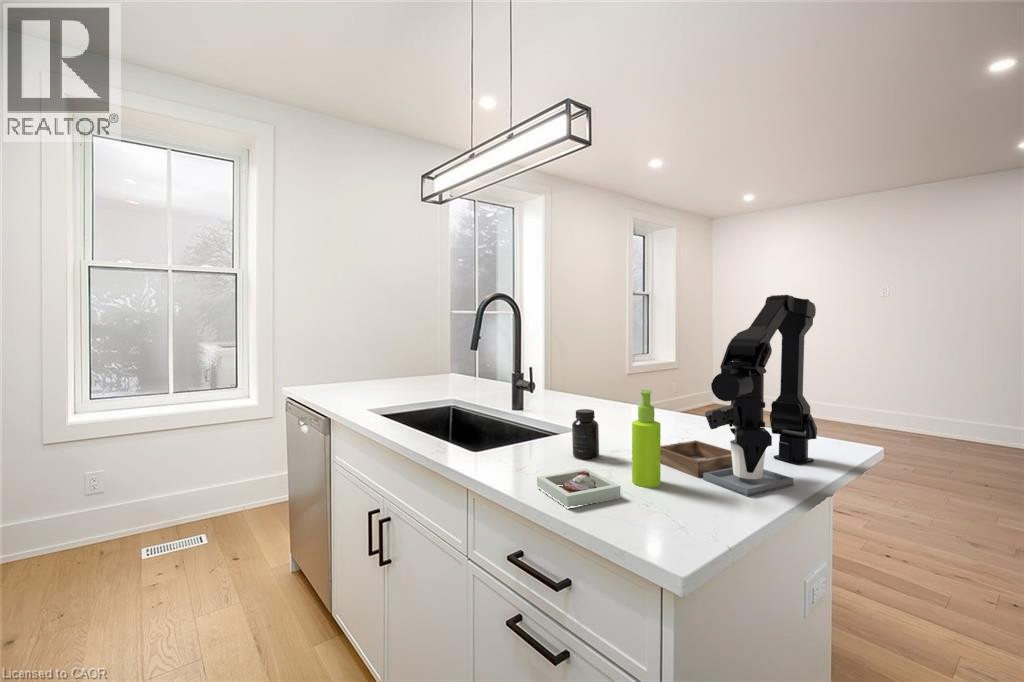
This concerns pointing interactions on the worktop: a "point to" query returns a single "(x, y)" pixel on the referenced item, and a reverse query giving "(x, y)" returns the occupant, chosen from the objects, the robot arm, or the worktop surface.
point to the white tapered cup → (740, 465)
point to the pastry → (579, 483)
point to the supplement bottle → (585, 435)
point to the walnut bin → (679, 459)
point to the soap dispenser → (646, 445)
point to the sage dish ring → (602, 493)
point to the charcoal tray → (748, 481)
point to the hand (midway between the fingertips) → (747, 467)
